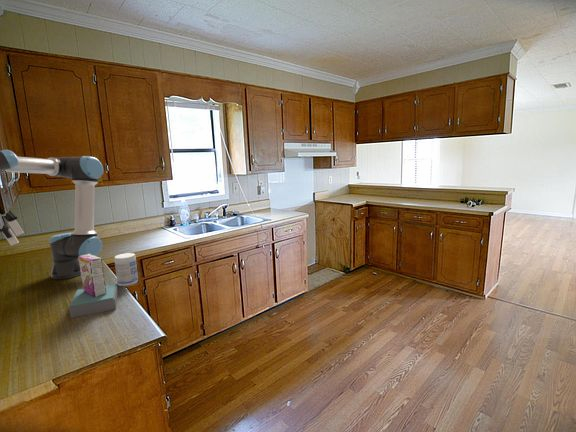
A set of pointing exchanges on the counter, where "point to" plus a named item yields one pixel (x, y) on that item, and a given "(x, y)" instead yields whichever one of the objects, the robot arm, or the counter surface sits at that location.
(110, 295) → the block
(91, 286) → the candy bar box
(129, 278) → the supplement tub
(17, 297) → the counter surface
